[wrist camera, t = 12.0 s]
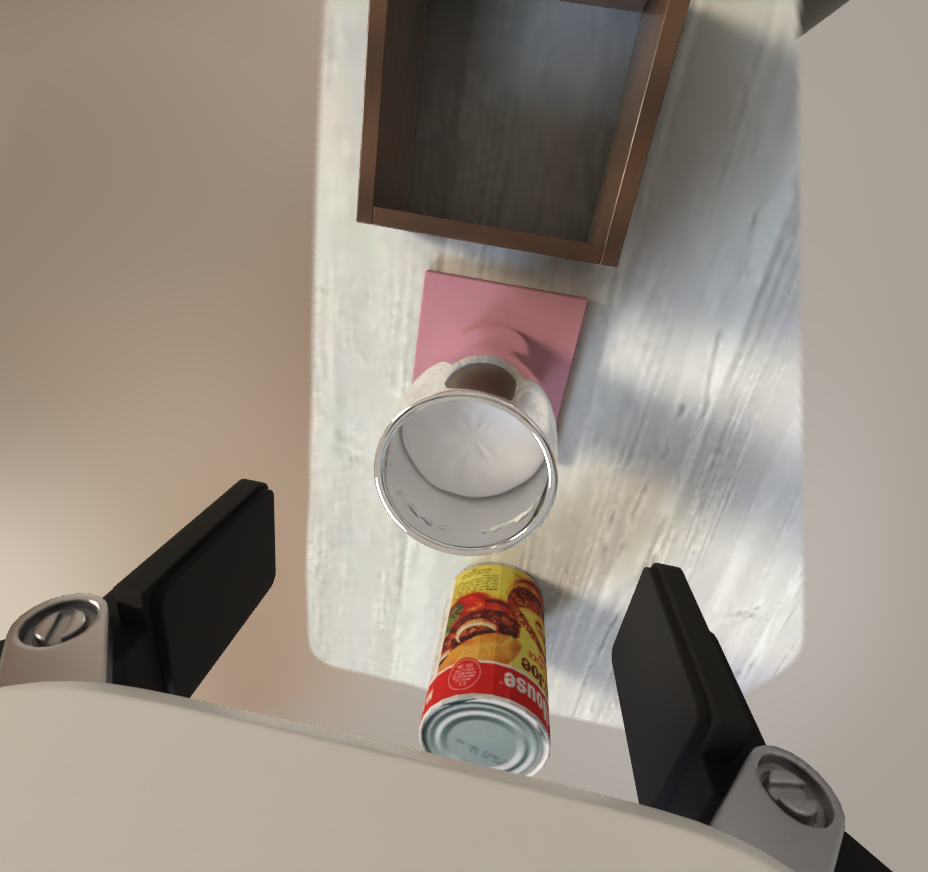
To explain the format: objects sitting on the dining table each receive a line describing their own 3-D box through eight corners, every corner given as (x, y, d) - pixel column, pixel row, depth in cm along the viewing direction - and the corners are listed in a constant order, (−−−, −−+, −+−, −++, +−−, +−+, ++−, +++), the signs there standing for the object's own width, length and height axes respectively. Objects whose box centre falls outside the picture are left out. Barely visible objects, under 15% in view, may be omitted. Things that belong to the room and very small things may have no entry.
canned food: (548, 634, 39) (558, 786, 28) (458, 639, 41) (434, 786, 30) (535, 557, 36) (540, 694, 26) (439, 566, 38) (404, 699, 27)
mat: (428, 269, 29) (425, 270, 28) (586, 297, 29) (588, 299, 28) (408, 429, 34) (405, 434, 33) (546, 455, 33) (546, 462, 32)
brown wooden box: (417, -41, 23) (377, -147, 17) (663, -5, 23) (717, -101, 16) (393, 226, 28) (355, 221, 22) (595, 261, 28) (617, 267, 21)
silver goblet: (423, 335, 30) (336, 416, 16) (528, 301, 28) (533, 358, 14) (457, 432, 32) (408, 576, 18) (557, 406, 30) (585, 541, 17)
